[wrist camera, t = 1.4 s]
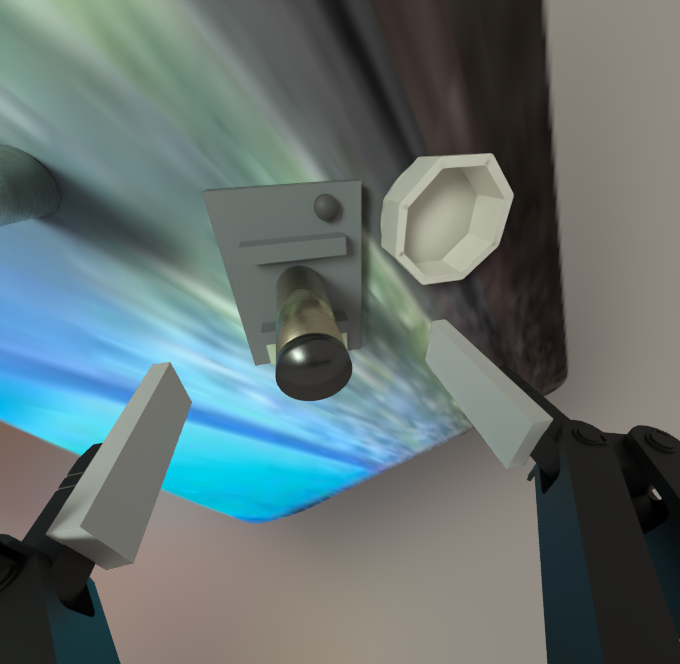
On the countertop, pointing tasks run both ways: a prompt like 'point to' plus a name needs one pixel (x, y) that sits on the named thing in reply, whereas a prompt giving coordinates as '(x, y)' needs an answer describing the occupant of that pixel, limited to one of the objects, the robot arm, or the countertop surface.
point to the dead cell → (308, 338)
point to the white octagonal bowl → (445, 215)
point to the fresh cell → (24, 187)
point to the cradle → (289, 251)
